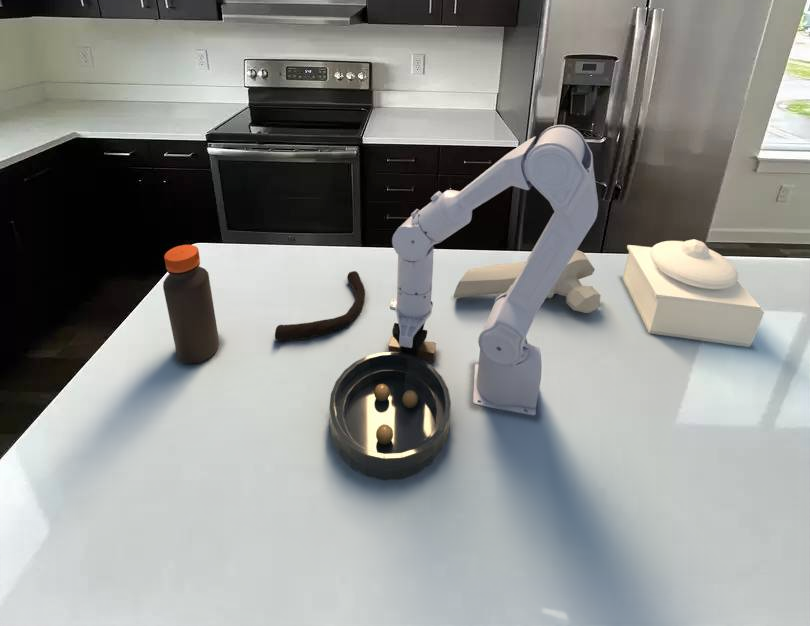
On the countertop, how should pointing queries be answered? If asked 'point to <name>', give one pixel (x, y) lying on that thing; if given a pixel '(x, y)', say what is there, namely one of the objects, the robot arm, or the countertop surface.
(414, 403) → the bead
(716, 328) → the butter dish
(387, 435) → the bead
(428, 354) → the block
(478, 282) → the faceted mallet
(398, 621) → the countertop surface
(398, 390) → the bowl
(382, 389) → the bead
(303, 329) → the branch
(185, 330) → the bottle
